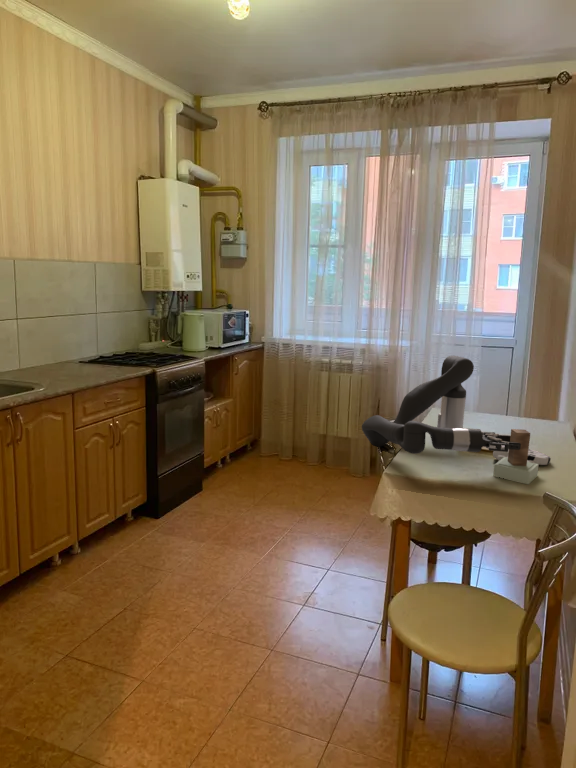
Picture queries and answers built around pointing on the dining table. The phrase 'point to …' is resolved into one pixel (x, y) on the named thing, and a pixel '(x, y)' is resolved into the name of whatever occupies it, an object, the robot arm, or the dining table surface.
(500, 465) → the stand
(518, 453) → the block
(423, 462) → the dining table surface
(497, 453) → the toy
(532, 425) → the dining table surface
